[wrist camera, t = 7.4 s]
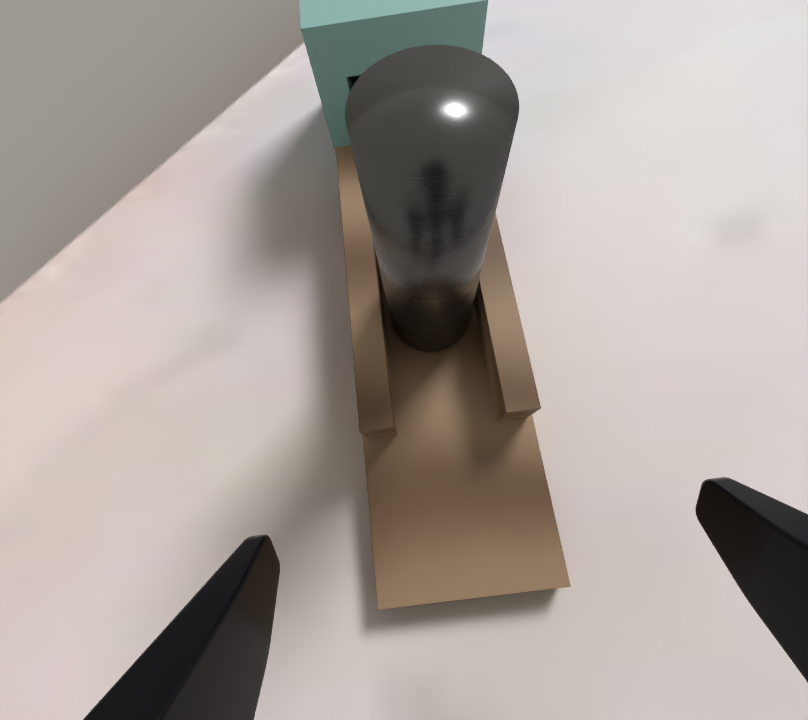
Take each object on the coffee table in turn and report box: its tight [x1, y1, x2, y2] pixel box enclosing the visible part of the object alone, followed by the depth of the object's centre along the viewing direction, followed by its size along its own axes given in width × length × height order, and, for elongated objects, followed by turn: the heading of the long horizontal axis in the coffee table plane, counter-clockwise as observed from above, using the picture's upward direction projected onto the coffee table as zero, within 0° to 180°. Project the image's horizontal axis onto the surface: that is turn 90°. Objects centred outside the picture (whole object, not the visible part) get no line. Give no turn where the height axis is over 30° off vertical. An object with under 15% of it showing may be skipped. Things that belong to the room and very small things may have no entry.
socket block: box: [299, 0, 488, 155], centre depth 19 cm, size 6×7×7 cm
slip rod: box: [345, 45, 519, 352], centre depth 14 cm, size 15×3×10 cm, turn 7°
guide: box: [336, 145, 571, 610], centre depth 16 cm, size 19×7×3 cm, turn 7°
